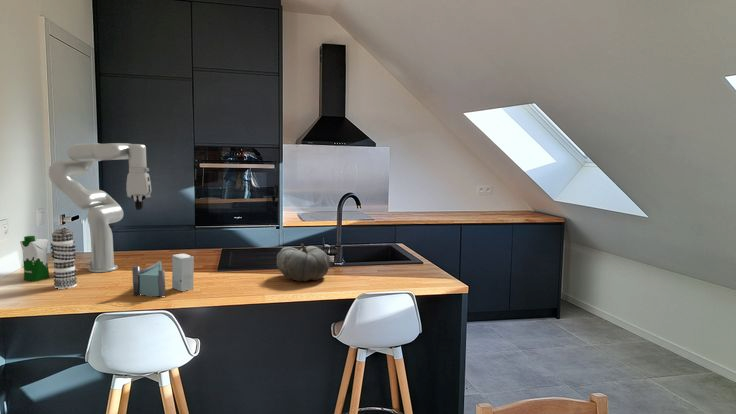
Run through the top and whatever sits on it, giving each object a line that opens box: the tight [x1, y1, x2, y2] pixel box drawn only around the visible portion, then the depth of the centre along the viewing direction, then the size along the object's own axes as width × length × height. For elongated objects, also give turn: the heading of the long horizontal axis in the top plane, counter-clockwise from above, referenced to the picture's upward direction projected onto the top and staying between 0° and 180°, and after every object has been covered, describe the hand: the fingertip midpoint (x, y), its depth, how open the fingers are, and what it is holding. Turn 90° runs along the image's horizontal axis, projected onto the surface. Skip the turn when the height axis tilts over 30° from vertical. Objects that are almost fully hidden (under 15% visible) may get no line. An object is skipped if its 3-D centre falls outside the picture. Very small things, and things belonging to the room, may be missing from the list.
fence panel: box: [140, 269, 166, 298], centre depth 209 cm, size 11×2×11 cm, turn 81°
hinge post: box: [131, 265, 141, 296], centre depth 210 cm, size 3×3×12 cm
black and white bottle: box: [49, 228, 78, 290], centre depth 220 cm, size 9×9×25 cm
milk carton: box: [19, 235, 51, 282], centre depth 231 cm, size 9×9×20 cm
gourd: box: [276, 243, 331, 282], centre depth 240 cm, size 25×25×17 cm
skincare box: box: [171, 253, 195, 292], centre depth 220 cm, size 8×6×15 cm
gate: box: [140, 261, 163, 275], centre depth 221 cm, size 18×2×8 cm, turn 175°
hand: (139, 209), depth 241 cm, fingers closed
